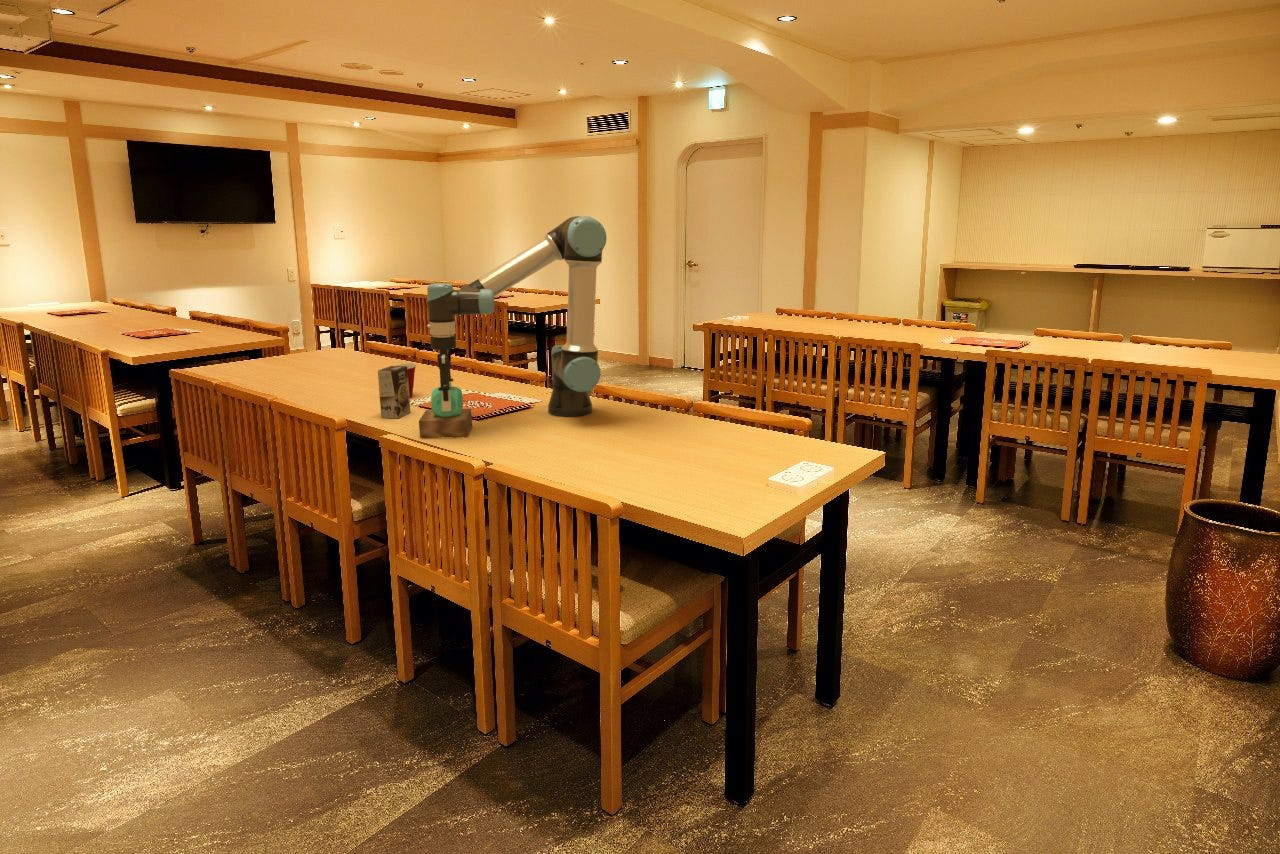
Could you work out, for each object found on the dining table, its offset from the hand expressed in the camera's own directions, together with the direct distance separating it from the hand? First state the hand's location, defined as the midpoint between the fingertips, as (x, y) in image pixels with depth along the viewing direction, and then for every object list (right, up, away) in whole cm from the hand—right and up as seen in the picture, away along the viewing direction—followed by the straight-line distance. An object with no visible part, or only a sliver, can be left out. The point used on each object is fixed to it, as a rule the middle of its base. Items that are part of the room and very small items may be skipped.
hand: (447, 406), depth 245 cm
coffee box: (-22, -2, +21) cm, 31 cm away
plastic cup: (-28, +4, +47) cm, 55 cm away
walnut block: (0, -8, +1) cm, 8 cm away
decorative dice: (0, -2, 0) cm, 2 cm away
